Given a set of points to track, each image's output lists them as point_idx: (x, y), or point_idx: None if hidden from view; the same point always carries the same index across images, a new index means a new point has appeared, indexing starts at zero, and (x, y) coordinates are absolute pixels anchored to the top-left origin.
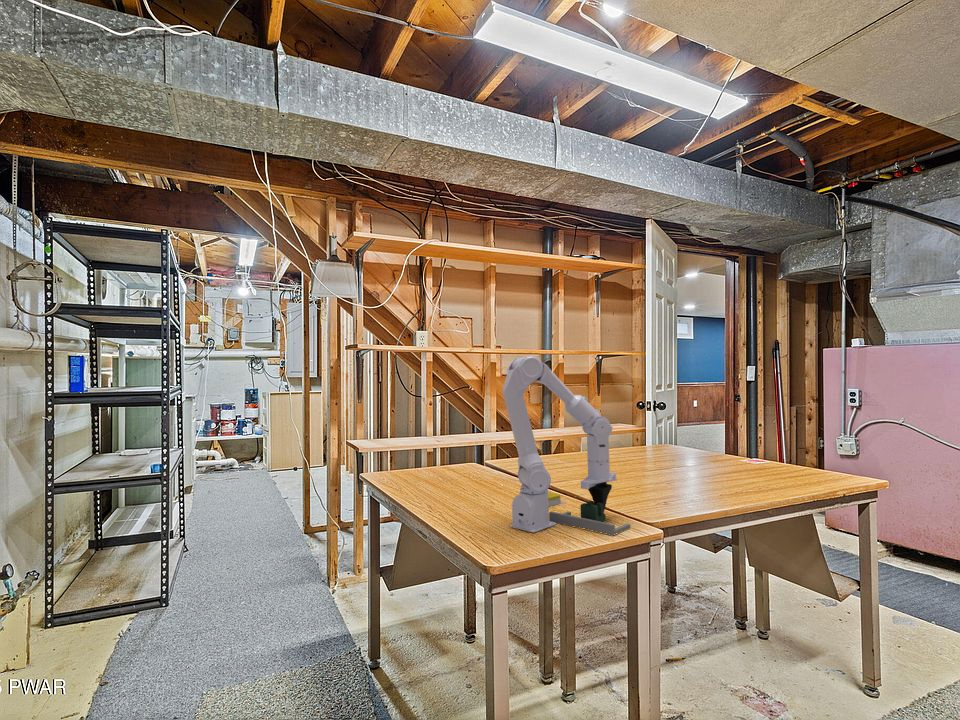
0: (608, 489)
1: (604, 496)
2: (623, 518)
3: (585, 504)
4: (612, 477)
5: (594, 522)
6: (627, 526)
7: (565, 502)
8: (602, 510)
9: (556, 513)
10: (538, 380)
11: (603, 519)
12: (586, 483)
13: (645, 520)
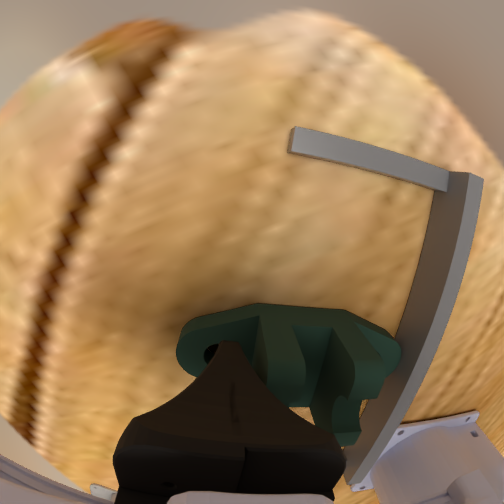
0: (215, 429)
1: (258, 400)
2: (114, 241)
3: (353, 430)
4: (25, 498)
5: (456, 287)
6: (328, 135)
7: (94, 485)
8: (283, 340)
9: (372, 463)
10: None
11: (267, 310)
12: (497, 501)
13: (89, 120)
